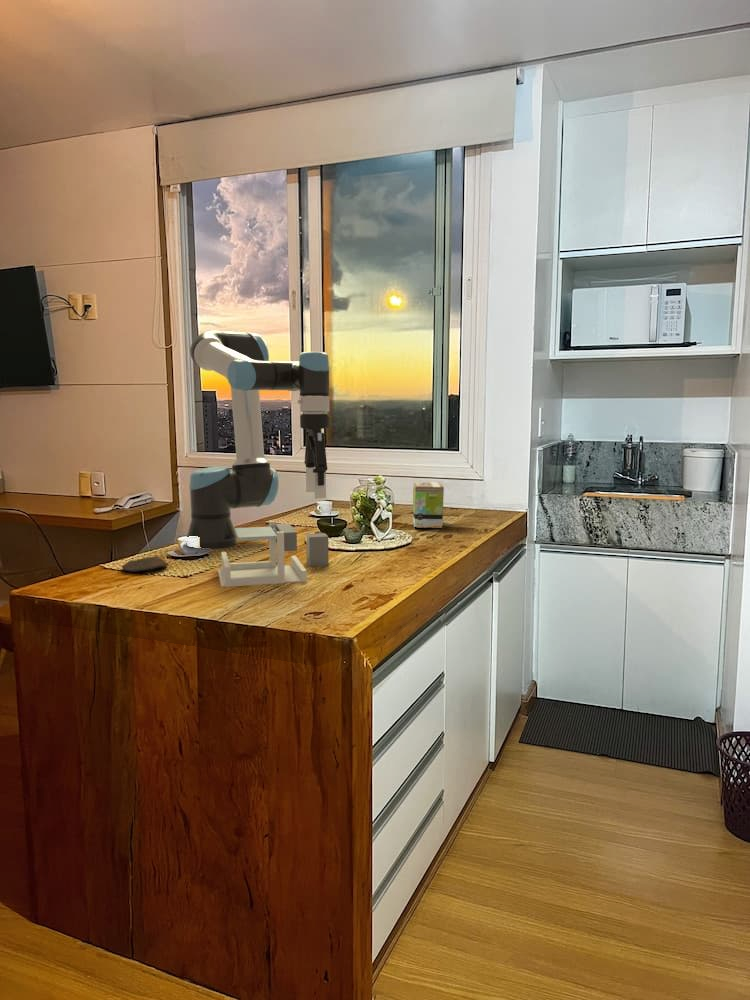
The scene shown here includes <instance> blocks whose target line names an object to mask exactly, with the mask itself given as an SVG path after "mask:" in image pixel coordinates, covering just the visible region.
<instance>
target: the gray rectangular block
mask: <svg viewBox="0 0 750 1000" xmlns="http://www.w3.org/2000/svg"><path fill="white" fill-rule="evenodd" d="M305 536H306V538H305V539H306V541H305V542H306V544H305V545H306V548H305V549H306V563H307V565H308V566H309V567H317V566H318V567H320V566H323V567H324V566H329V565H330V564H329V557H330V556H329V535H327V534H326V533H325V532H319V533H318V532H317V533H316V532H315V533H305Z"/></svg>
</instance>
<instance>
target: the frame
mask: <svg viewBox="0 0 750 1000" xmlns="http://www.w3.org/2000/svg"><path fill="white" fill-rule="evenodd" d="M275 524H277V523H276V520H268V527H271V528H272V529H273V531H274V532H275V533H276V535H277V543H276V539H268V541H269V543H268V544H269V545H268V546H269V560H266V561H265V560H264V561H262V560H261V561H246V562H230V561H229V558H228V553H227V551H221V552H220V553H221V555H220V556H221V559H220V560H221V568H220V569H217V573H218V579H219V582H220V587H222V588H229V587H241V586H259V585H260V586H261V585H273V584H276V585H277V584H287V583H301V582H302V583H306V582H308V581H307V580H308V576H307V573H308V572H307V571H308V570H307V569H306V567H304V565H303V564H302V562H301V561H300V559H299V558H298V557H297V556H296V555H291V556H290V565H285V551H284V532H283V531H280V532H277V531H276V529H275Z"/></svg>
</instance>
